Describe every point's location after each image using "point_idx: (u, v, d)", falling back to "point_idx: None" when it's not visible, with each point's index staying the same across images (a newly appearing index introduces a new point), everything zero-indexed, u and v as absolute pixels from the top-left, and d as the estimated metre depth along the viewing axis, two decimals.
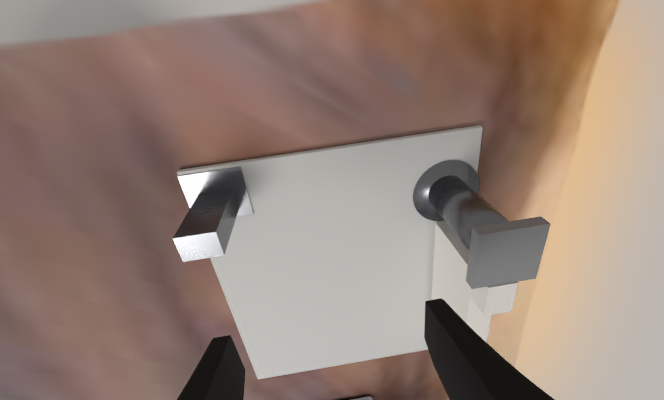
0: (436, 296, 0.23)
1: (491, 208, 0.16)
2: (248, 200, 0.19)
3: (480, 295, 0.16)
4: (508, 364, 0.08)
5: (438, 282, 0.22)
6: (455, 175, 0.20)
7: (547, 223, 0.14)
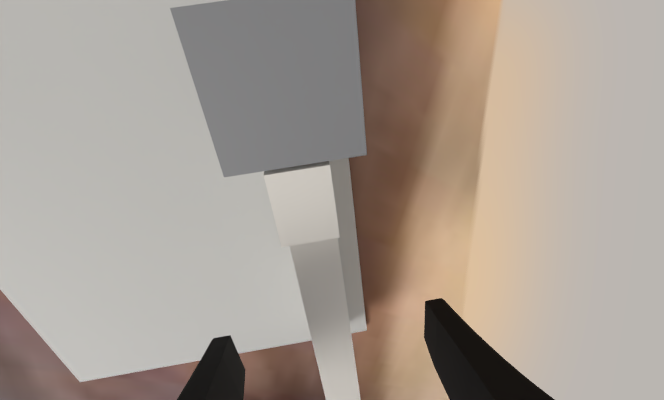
0: None
1: None
2: None
3: None
4: (508, 364, 0.08)
5: None
6: None
7: None
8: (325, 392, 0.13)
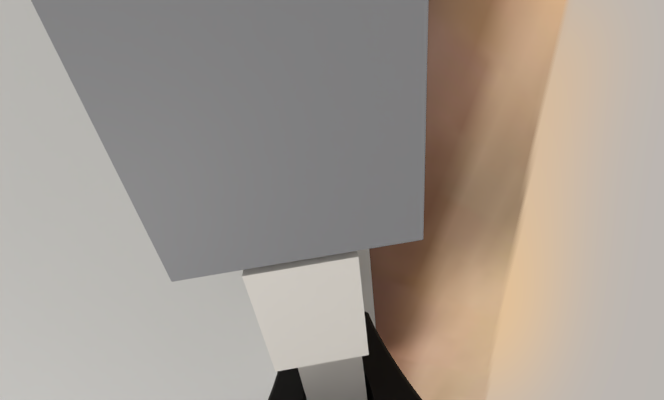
0: None
1: None
2: None
3: None
4: (406, 383, 0.08)
5: None
6: None
7: None
8: None
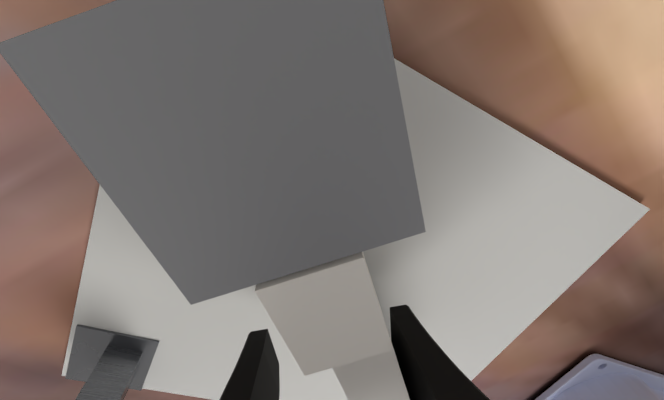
0: None
1: None
2: (134, 339, 0.13)
3: None
4: (460, 373, 0.08)
5: None
6: None
7: None
8: None
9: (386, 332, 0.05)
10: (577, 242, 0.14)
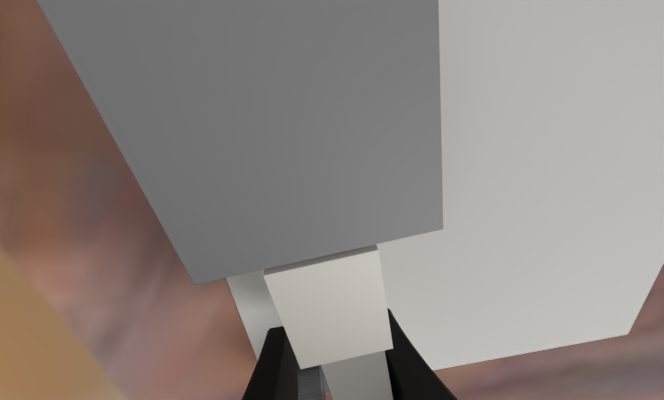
0: None
1: None
2: None
3: None
4: (435, 378, 0.08)
5: None
6: None
7: None
8: None
9: (389, 329, 0.05)
10: None
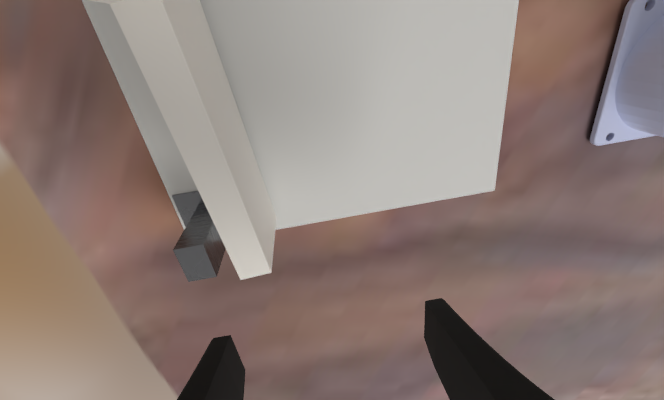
0: None
1: None
2: None
3: None
4: (508, 364, 0.08)
5: None
6: None
7: None
8: (222, 238, 0.14)
9: None
10: None
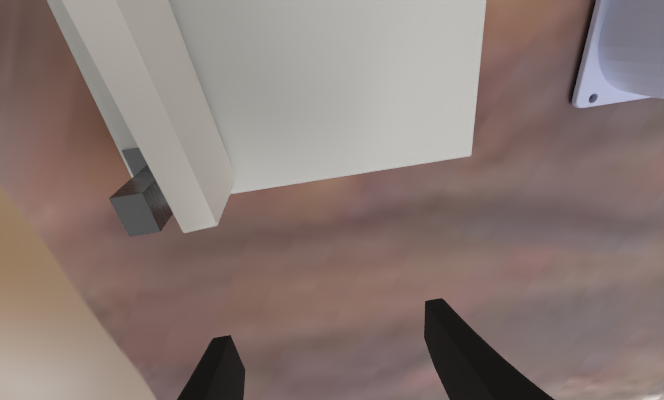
0: None
1: None
2: None
3: None
4: (508, 364, 0.08)
5: None
6: None
7: None
8: (158, 183, 0.12)
9: None
10: None
